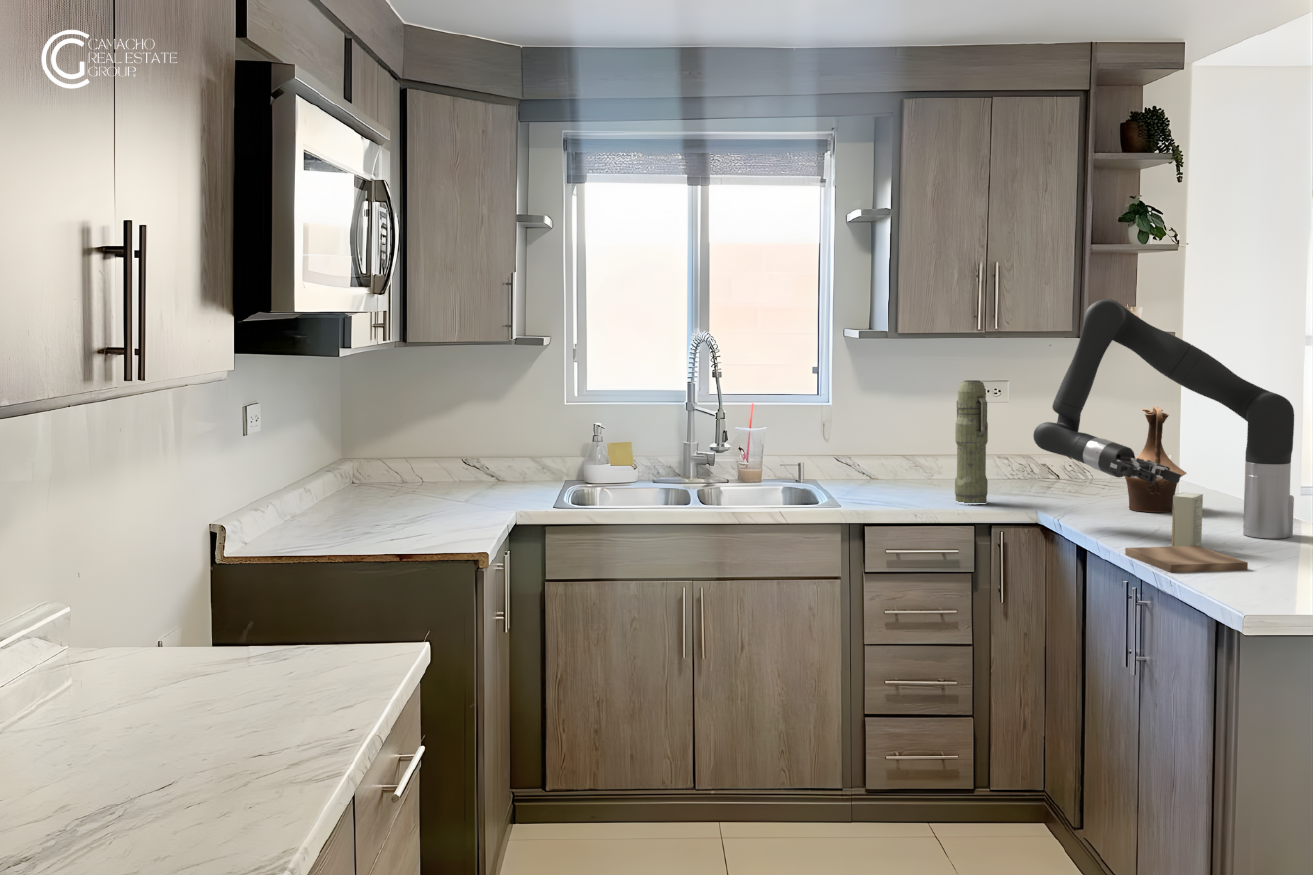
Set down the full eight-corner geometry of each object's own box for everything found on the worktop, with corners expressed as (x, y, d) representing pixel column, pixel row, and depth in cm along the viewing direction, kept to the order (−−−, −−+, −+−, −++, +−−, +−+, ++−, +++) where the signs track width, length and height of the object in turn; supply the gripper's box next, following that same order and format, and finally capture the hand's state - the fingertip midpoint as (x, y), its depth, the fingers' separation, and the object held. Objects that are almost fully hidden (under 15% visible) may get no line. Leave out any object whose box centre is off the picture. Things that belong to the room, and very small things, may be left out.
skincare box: (1181, 545, 242) (1182, 491, 241) (1202, 548, 239) (1203, 493, 238) (1170, 549, 238) (1171, 495, 236) (1191, 552, 234) (1193, 496, 233)
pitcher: (1194, 515, 281) (1197, 408, 278) (1124, 514, 284) (1126, 408, 282) (1176, 505, 298) (1178, 404, 296) (1110, 504, 301) (1112, 404, 299)
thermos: (967, 499, 316) (968, 379, 313) (997, 504, 306) (998, 380, 303) (944, 501, 312) (945, 380, 309) (973, 506, 302) (974, 381, 299)
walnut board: (1196, 552, 234) (1196, 545, 234) (1247, 569, 216) (1247, 562, 216) (1125, 554, 233) (1125, 547, 233) (1170, 572, 215) (1170, 564, 215)
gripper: (1092, 441, 253) (1151, 462, 240) (1131, 442, 260) (1191, 463, 247) (1084, 471, 255) (1142, 494, 241) (1123, 472, 262) (1182, 494, 248)
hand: (1167, 478), depth 244 cm, fingers open, 8 cm apart
